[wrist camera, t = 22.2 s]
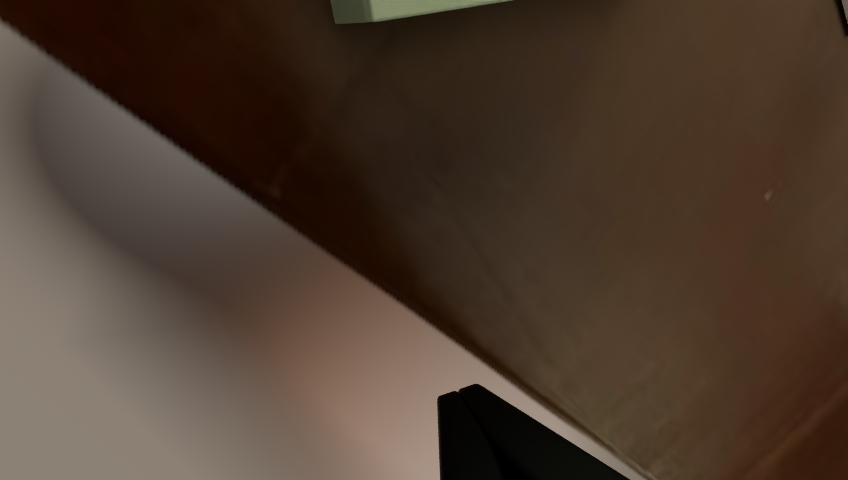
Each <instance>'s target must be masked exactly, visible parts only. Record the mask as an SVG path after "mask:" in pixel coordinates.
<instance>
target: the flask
mask: <svg viewBox="0 0 848 480" xmlns="http://www.w3.org/2000/svg"><path fill="white" fill-rule="evenodd" d="M842 4H843V7H844V11H845V15H846V18H847V22H848V0H842Z"/></svg>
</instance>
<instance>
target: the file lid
mask: <svg viewBox="0 0 848 480" xmlns="http://www.w3.org/2000/svg"><path fill="white" fill-rule="evenodd" d="M506 1H512V0H364V4H365V10H366V16H367V19H368V21H370V22H380V21H386V20H392V19H399V18H405V17H411V16H418V15H424V14H430V13H436V12H443V11H449V10H455V9H462V8H468V7H474V6H481V5H487V4H493V3H500V2H506Z"/></svg>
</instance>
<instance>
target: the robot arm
mask: <svg viewBox="0 0 848 480" xmlns="http://www.w3.org/2000/svg"><path fill="white" fill-rule="evenodd" d="M437 400H438V401H437V404H438V405H437V406H438V434H439V460H440V480H630V479H628V478H626V477H625V476H623V475H622V474H620V473H619V472H617V471H616V470H614V469H612V468H611V467H609V466H607V465H606V464H604V463H603V462H601V461H600V460H598V459H597V458H595V457H593V456H592V455H590V454H589V453H587V452H585V451H584V450H582V449H581V448H579V447H577V446H576V445H574V444H573V443H571V442H570V441H568V440H566V439H565V438H563V437H562V436H560V435H558V434H557V433H555V432H554V431H552V430H550V429H549V428H547V427H546V426H544V425H542V424H541V423H539V422H538V421H536V420H535V419H533V418H532V417H530V416H528V415H527V414H525V413H524V412H522V411H521V410H519V409H517V408H516V407H514V406H513V405H511V404H509V403H508V402H506V401H504V400H503V399H502V398H500V397H498V396H497V395H495V394H493V393H492V392H490V391H489V390H487V389H486V388H484V387H483V386H481V385H479V384H473V385H470V386H467V387H465V388H461V389H460V390H459V391H458V392H456V391H453V392H450V393H447V394H444V395H441V396H439V397H438V399H437Z"/></svg>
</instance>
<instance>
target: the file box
mask: <svg viewBox="0 0 848 480" xmlns="http://www.w3.org/2000/svg"><path fill="white" fill-rule="evenodd" d="M330 1H331V6H332V11H333V16H334V21H335V23H336V24H348V23H365V22H370V21H368V19H367V16H366V10H365V4H364V0H330Z"/></svg>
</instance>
